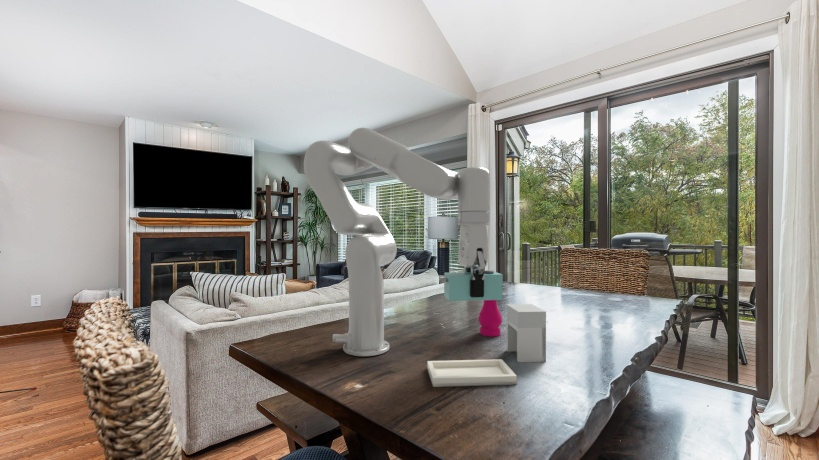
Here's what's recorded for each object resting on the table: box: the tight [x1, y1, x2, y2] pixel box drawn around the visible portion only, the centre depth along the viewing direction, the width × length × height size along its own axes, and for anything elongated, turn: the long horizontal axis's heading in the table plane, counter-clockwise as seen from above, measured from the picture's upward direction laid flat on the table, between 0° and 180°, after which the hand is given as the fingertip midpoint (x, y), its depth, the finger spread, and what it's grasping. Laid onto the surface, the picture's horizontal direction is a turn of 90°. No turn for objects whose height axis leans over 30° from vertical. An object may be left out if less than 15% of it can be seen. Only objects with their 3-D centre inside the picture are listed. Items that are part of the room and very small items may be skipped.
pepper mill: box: [478, 300, 503, 338], centre depth 116 cm, size 7×7×20 cm
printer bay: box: [505, 303, 547, 363], centre depth 97 cm, size 7×9×12 cm
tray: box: [426, 358, 518, 388], centre depth 83 cm, size 18×10×2 cm, turn 94°
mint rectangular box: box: [442, 269, 504, 302], centre depth 90 cm, size 14×5×7 cm, turn 98°
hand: (473, 293), depth 90 cm, fingers closed on mint rectangular box, 5 cm apart
